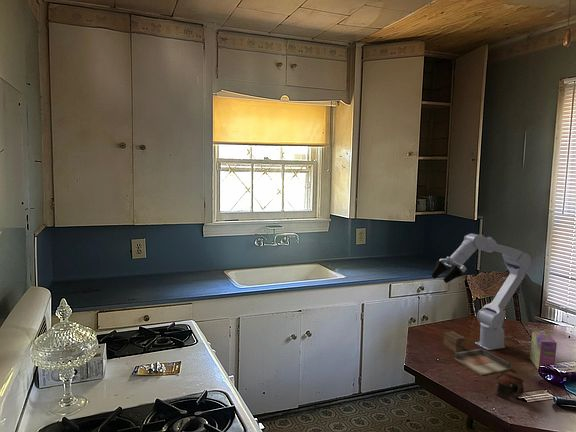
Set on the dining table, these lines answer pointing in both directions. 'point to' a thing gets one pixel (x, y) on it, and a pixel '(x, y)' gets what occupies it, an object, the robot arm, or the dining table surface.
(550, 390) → the dining table surface
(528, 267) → the robot arm
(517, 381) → the pottery mug
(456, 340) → the walnut block
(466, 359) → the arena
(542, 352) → the box
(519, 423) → the dining table surface
